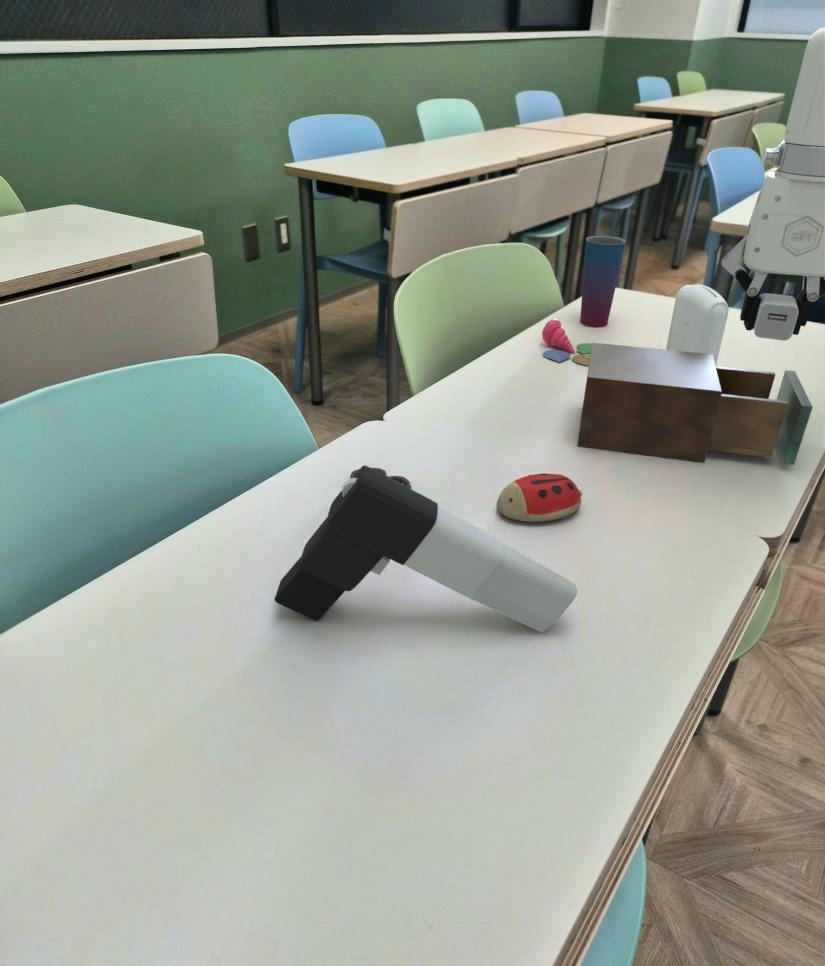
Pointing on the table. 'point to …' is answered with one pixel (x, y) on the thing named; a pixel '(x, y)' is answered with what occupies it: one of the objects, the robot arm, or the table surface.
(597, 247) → the cup
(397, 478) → the corroded twin loop
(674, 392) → the cabinet
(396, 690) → the table surface
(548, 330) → the toy pieces
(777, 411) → the drawer
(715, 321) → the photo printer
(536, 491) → the ladybug figurine
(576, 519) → the table surface
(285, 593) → the handheld device
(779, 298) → the usb wall charger
